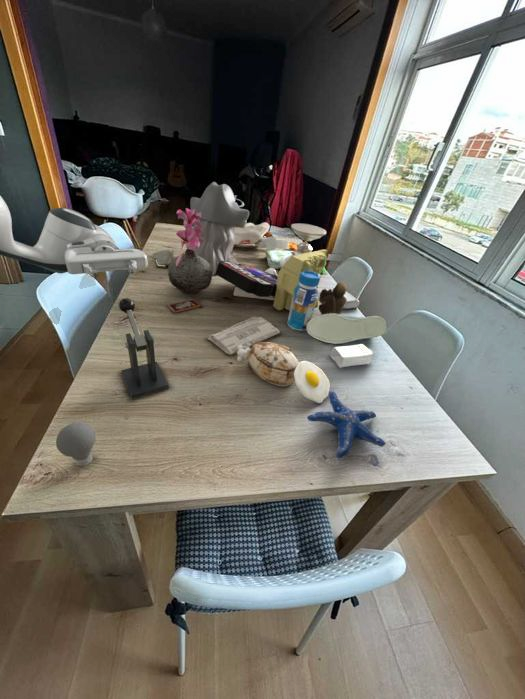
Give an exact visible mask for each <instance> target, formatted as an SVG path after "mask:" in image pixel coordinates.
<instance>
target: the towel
mask: <svg viewBox="0 0 525 699" xmlns="http://www.w3.org/2000/svg"><path fill="white" fill-rule="evenodd" d="M291 252H293V250H282V249H279V250H278V249H277V250H276V249H274V250H268V249H267V250H265V258H266V260H267V261H266V262H267V265H268V267H269V268H273V269H275V270H277V269H278V270H279V269H280V270H281V269H282V266H281V265H280V263H279V261H280V259H281V258H283V257H286V256H290V255H292V253H291Z"/></svg>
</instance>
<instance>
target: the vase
mask: <svg viewBox="0 0 525 699" xmlns="http://www.w3.org/2000/svg"><path fill="white" fill-rule="evenodd" d="M194 212H195V209H193V210H191V208H188V207H185V211H183V210H181V209H177V211H176V215H177V220H183V222H182V224H183V227H184V229H182V230H177V231H176V234H175V235H176V236H177V237H178V238H180V239H181V240H180V244H181V248H183V247H184V245H185V248H186V249H187V250H186V249H185V251H186V252H185V251H184V252H183V253H181V254H180V255H179V256H177V257H175V258H174V257H173V258H174V259H173V260H172V261H171V263H170V264H169V265H167V266H168V268H167V274H168V281H169V282H170V284H171V286H173V287H174V289H177V290H179V291H182V293H184V294H189V295H195V294H198V293H199V292H202V291H204V290H206V289H207V288H209V287H210V286H211V282H212V278H213V275H212V268H211V266H210V264H209V263H208V262H207V261H206V260H205V259H203V258H202V257H200V256H197V255H196V253H195V251H194V249H195V246H196V245H198V247H199V245H200V242H201V243H203V241H204V238H200V237H199V238H198V237H197V236H199V235H200V234H202V233H203V232H202V231H201V230H200V229H199V227H198V226H196V228H195V230H193V229H192V228H193V226H194V224H197V225H199V226H200V227H201V228H202V225H201V223H200V222H199V221H198V220H197V217H201V213H200V212H199V213H197V214H194ZM199 241H200V242H199ZM184 253H185V254H184Z"/></svg>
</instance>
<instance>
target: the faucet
mask: <svg viewBox="0 0 525 699" xmlns="http://www.w3.org/2000/svg"><path fill="white" fill-rule="evenodd" d="M289 242H290V241H289V240H282V239H277V238H276V237H275V236H273V237H268V238H266V237H262V238H261V239H260V240H259V241H258V242H256V243H254V244H255V245H254V244H253V245H254V246H256V245H257V246H256V247H259V248H265V249H267V251H268V250H273V251H274V250H276V249H280V250H289V249H288V248H289Z"/></svg>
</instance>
